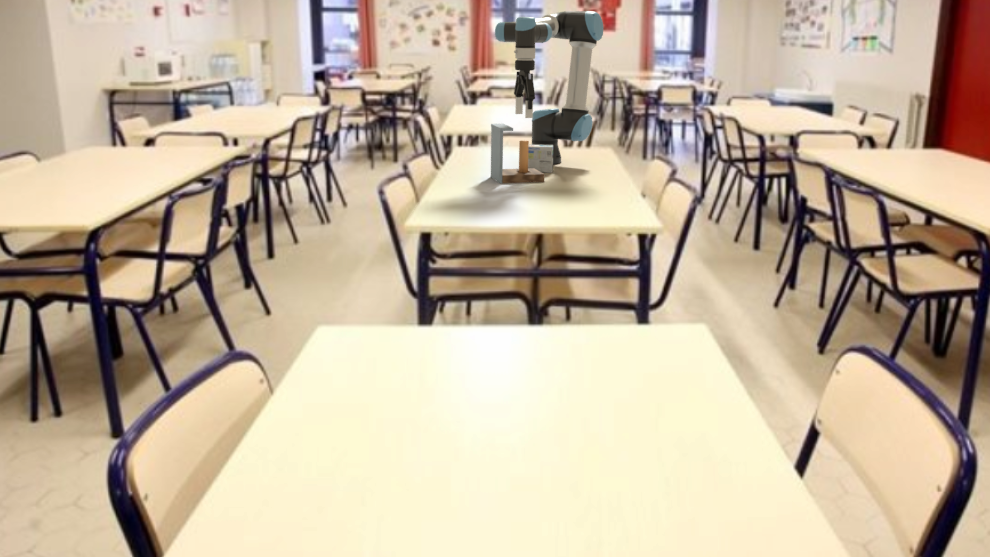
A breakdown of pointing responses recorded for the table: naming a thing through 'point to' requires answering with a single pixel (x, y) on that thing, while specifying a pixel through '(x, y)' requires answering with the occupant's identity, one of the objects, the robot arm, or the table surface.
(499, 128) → the grey l-shaped bracket
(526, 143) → the peg
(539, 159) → the light bulb box
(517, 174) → the socket board
